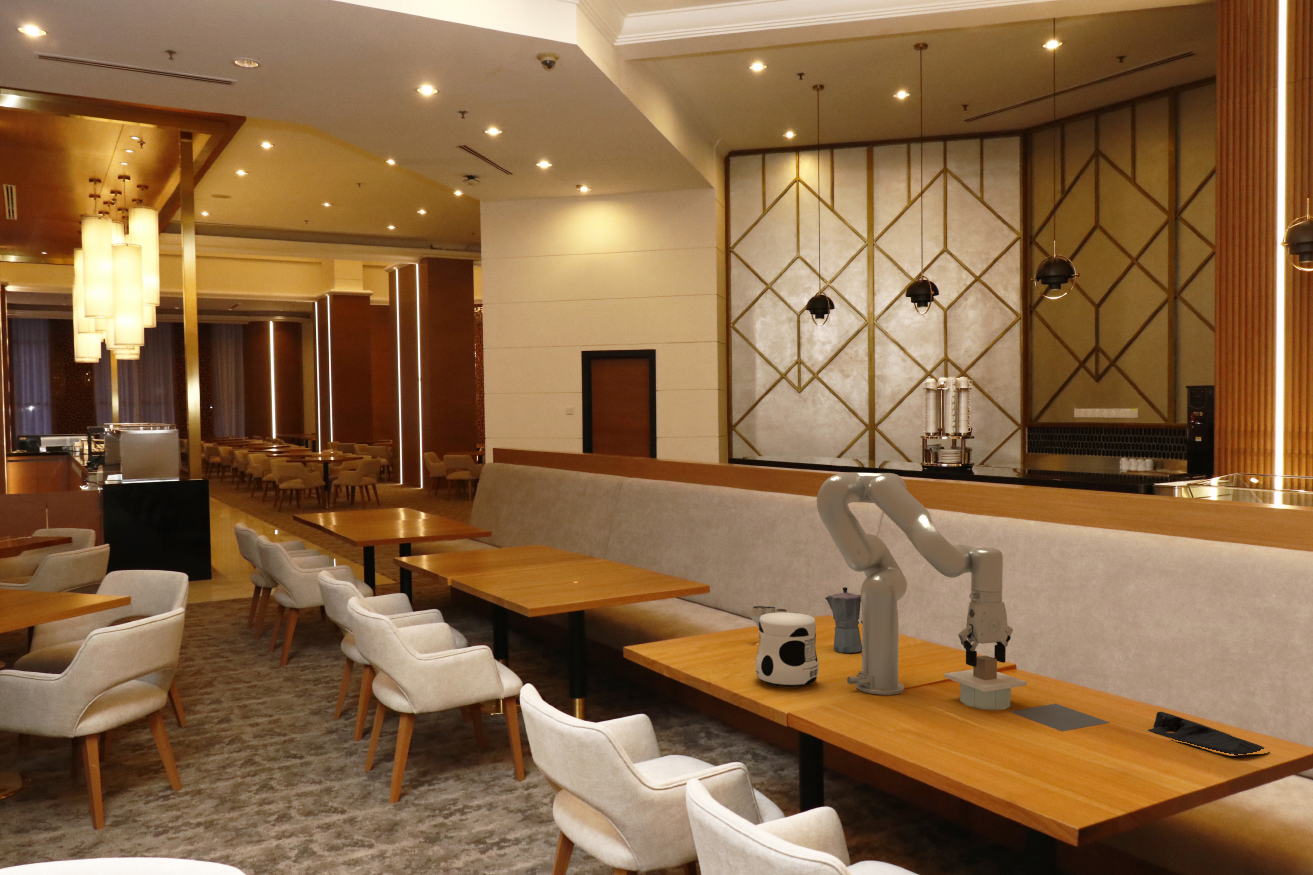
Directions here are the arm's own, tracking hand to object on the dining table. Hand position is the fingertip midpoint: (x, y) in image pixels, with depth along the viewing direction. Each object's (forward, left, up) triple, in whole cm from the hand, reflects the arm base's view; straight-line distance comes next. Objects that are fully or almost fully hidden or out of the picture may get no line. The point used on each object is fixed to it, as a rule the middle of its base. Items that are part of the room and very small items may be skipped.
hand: (985, 663), depth 235 cm
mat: (+8, -16, -11) cm, 21 cm away
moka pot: (+2, +60, -11) cm, 61 cm away
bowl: (0, 0, -11) cm, 11 cm away
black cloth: (+26, -41, -11) cm, 50 cm away
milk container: (-36, +37, -11) cm, 53 cm away
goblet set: (-19, +67, -11) cm, 71 cm away
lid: (0, 0, -5) cm, 5 cm away
